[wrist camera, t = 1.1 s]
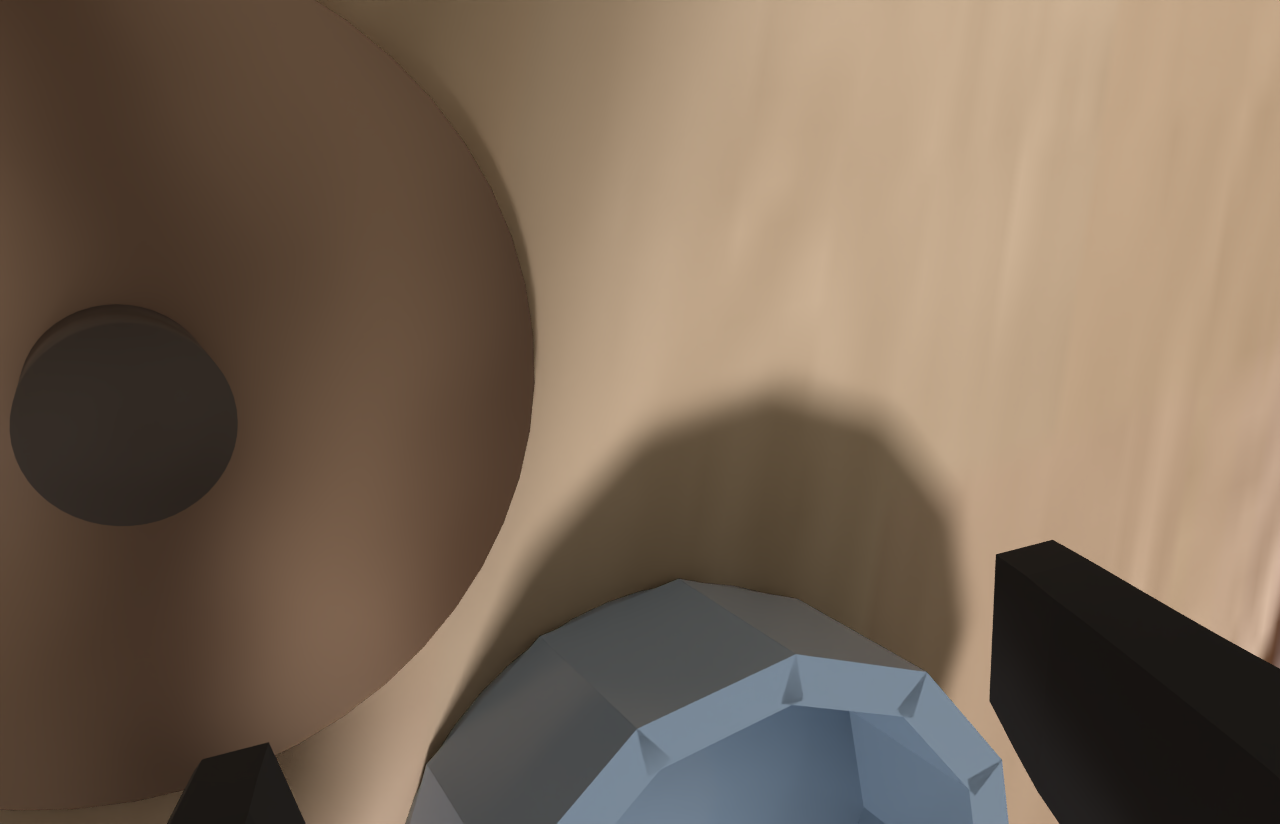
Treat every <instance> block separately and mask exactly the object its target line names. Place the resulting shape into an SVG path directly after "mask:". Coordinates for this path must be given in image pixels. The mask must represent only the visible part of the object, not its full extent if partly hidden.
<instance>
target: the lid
mask: <svg viewBox="0 0 1280 824" xmlns="http://www.w3.org/2000/svg"><path fill="white" fill-rule="evenodd" d="M533 392H534V352H533V331H532V324H531V318H530V311H529V305H528V298H527V292H526V286H525V282H524V278H523V275H522V271H521V268H520V264H519V261H518V257H517V254H516V250H515V247H514V243H513V240H512V236H511V234H510V232H509V229H508V227H507V225H506V222H505V220H504V217H503V215H502V213H501V210H500V208H499V206H498V203H497V201H496V199H495V196H494V194H493V192H492V189H491V187H490V186H489V184H488V182H487V180H486V179H485V177H484V175H483V174H482V172H481V170H480V168H479V167H478V165H477V163H476V161H475V160H474V158H473V156H472V154H471V153H470V151H469V149H468V148H467V146H466V144H465V142H464V141H463V140H462V138H461V137H460V136H459V135H458V133H457V132H456V131H455V129H454V128H453V127H452V125H451V124H450V123H449V121H448V120H447V119H446V117H445V116H444V115H443V113H442V112H441V111H440V109H439V108H438V107H437V105H436V104H435V103H434V101H433V100H432V99H431V98H430V97H429V96H428V95H427V93H426V92H425V91H424V90H423V89H422V88H421V87H420V86H419V85H418V84H417V83H416V82H415V81H414V80H413V79H412V78H411V77H410V76H409V75H408V74H407V73H406V72H405V71H404V70H403V69H402V67H401V66H400V65H399V64H398V63H397V62H396V61H395V60H394V59H393V58H392V57H391V56H389V55H388V54H387V53H386V52H385V51H383V50H382V49H381V48H380V47H378V46H377V45H376V44H375V43H374V42H372V41H371V40H370V39H369V38H367V37H366V36H365V35H364V34H363V33H361V32H360V31H359V30H358V29H356V28H355V27H354V26H353V25H352V24H350V23H349V22H348V21H347V20H345V19H344V18H342V17H341V16H339V15H337V14H336V13H334V12H333V11H331V10H330V9H328V8H326V7H325V6H323V5H322V4H320V3H319V2H317V1H315V0H0V809H3V810H52V809H79V808H87V807H95V806H103V805H110V804H118V803H126V802H134V801H139V800H143V799H147V798H151V797H156V796H160V795H164V794H168V793H173V792H177V791H181V790H184V789H185V787H186V785H187V783H188V781H189V780H190V778H191V776H192V774H193V772H194V770H195V769H196V767H197V766H198V764H199V763H200V762H201V760H202V759H205V758H209V757H213V756H217V755H221V754H225V753H229V752H232V751H236V750H240V749H244V748H248V747H252V746H256V745H260V744H263V743H267V742H269V744H270V746H271V748H272V750H273V753H274V755H277V754H279V753H281V752H283V751H285V750H287V749H289V748H292V747H294V746H296V745H298V744H299V743H301V742H303V741H304V740H306V739H308V738H309V737H311V736H312V735H314V734H316V733H317V732H319V731H321V730H322V729H324V728H325V727H327V726H329V725H330V724H332V723H334V722H335V721H337V720H338V719H340V718H342V717H343V716H345V715H346V714H347V713H349V712H350V711H351V710H353V709H354V708H355V707H356V706H358V705H359V704H360V703H362V702H363V701H364V700H365V699H367V698H368V697H369V696H371V695H372V694H373V693H374V692H376V691H377V690H378V689H380V688H381V687H382V686H383V685H385V684H386V683H387V682H388V681H389V680H390V679H391V678H392V677H393V676H394V675H395V674H396V673H397V672H398V671H399V670H400V669H402V668H403V667H404V666H405V665H406V664H407V663H408V662H409V661H410V660H411V659H412V658H413V657H414V656H415V655H416V654H417V653H418V652H419V651H420V650H421V649H422V648H423V647H424V646H425V645H426V643H427V642H428V641H429V640H430V639H431V637H432V636H433V635H434V634H435V632H436V631H437V630H438V629H439V628H440V626H441V625H442V624H443V623H444V621H445V620H446V619H447V618H448V617H449V615H450V614H451V613H452V612H453V611H454V609H455V608H456V606H457V605H458V603H459V602H460V600H461V599H462V597H463V596H464V594H465V593H466V591H467V589H468V588H469V586H470V585H471V583H472V582H473V580H474V579H475V577H476V575H477V574H478V572H479V571H480V569H481V568H482V566H483V564H484V562H485V560H486V558H487V556H488V554H489V552H490V550H491V548H492V546H493V544H494V542H495V539H496V537H497V535H498V533H499V531H500V529H501V527H502V525H503V523H504V520H505V518H506V515H507V512H508V509H509V506H510V503H511V500H512V498H513V495H514V492H515V489H516V486H517V483H518V480H519V478H520V473H521V469H522V464H523V459H524V455H525V450H526V446H527V441H528V437H529V432H530V424H531V413H532V403H533Z"/></svg>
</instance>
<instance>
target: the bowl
mask: <svg viewBox="0 0 1280 824" xmlns="http://www.w3.org/2000/svg"><path fill="white" fill-rule="evenodd" d="M405 824H1009V823H1008V814H1007V804H1006V795H1005V785H1004V775H1003V766H1002V759H1001V758H1000V757H999V756H998V755H997V754H996V753H995V751H994V750H993V749H992V748H991V747H990V746H989V744H988V743H987V742H986V741H985V740H984V738H983V737H982V736H981V735H980V734H979V733H978V731H977V730H976V729H975V728H974V727H973V726H972V724H971V723H970V722H969V721H968V720H967V719H966V717H965V716H964V715H963V714H962V713H961V712H960V710H959V709H958V708H957V707H956V706H955V705H954V703H953V702H952V701H951V700H950V699H949V698H948V696H947V695H946V694H945V693H944V692H943V690H942V689H941V688H940V687H939V686H938V685H937V683H936V682H935V681H934V680H933V679H932V678H931V676H930V675H929V674H928V673H927V672H926V671H924V670H922V669H921V668H919V667H917V666H915V665H914V664H912V663H910V662H908V661H907V660H905V659H903V658H901V657H899V656H898V655H896V654H894V653H892V652H891V651H889V650H887V649H885V648H884V647H882V646H880V645H878V644H876V643H875V642H873V641H871V640H869V639H868V638H866V637H864V636H862V635H861V634H859V633H857V632H855V631H853V630H852V629H850V628H848V627H846V626H845V625H843V624H841V623H839V622H838V621H836V620H834V619H832V618H830V617H829V616H827V615H825V614H823V613H822V612H820V611H818V610H816V609H815V608H813V607H811V606H809V605H807V604H806V603H804V602H802V601H800V600H799V599H796V598H790V597H784V596H778V595H772V594H766V593H761V592H757V591H753V590H749V589H745V588H741V587H737V586H731V585H721V584H710V583H701V582H695V581H689V580H683V579H677V580H674V581H672V582H669V583H667V584H665V585H662V586H660V587H657V588H654V589H649V590H644V591H640V592H637V593H634V594H631V595H628V596H625V597H622V598H619V599H616V600H613V601H610V602H607V603H605V604H603V605H601V606H599V607H597V608H594V609H592V610H590V611H588V612H586V613H584V614H582V615H580V616H578V617H576V618H574V619H572V620H570V621H569V622H567V623H566V624H564V625H562V626H561V627H559V628H558V629H556V630H554V631H551V632H549V633H546V634H544V635H542V636H540V637H539V638H538V639H537V640H536V641H535V642H534V643H533V645H532V646H531V647H530V648H529V649H528V650H527V651H525V652H524V653H523V654H522V655H521V656H519V657H518V658H517V659H516V660H514V661H513V662H512V663H511V664H509V665H508V666H507V667H506V668H505V669H504V670H503V671H502V672H501V673H500V674H499V675H498V676H497V677H496V678H495V679H494V680H493V681H492V682H491V683H490V684H489V685H488V686H487V687H486V688H485V689H484V690H483V691H482V692H481V693H480V694H479V696H478V697H477V698H476V699H475V701H474V702H473V703H472V704H471V706H470V707H469V708H468V709H467V711H466V712H465V713H464V714H463V716H462V717H461V718H460V719H459V721H458V722H457V723H456V724H455V726H454V727H453V729H452V730H451V732H450V733H449V735H448V737H447V738H446V740H445V741H444V743H443V745H442V746H441V748H440V749H439V750H438V752H437V753H436V754H435V755H434V756H433V757H432V758H431V759H430V761H429V762H428V763H427V764H426V768H425V771H424V775H423V779H422V782H421V785H420V787H419V789H418V791H417V793H416V795H415V797H414V800H413V803H412V805H411V808H410V811H409V814H408V817H407V820H406V823H405Z"/></svg>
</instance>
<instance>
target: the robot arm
mask: <svg viewBox="0 0 1280 824" xmlns="http://www.w3.org/2000/svg"><path fill="white" fill-rule="evenodd" d="M989 701H990V703H991V705H992V706H993V708H994V710H995V712H996V714H997V716H998V718H999V720H1000V722H1001V724H1002V726H1003V728H1004V730H1005V732H1006V734H1007V736H1008V738H1009V740H1010V741H1011V743H1012V745H1013V747H1014V749H1015V751H1016V753H1017V755H1018V757H1019V758H1020V760H1021V762H1022V764H1023V766H1024V768H1025V769H1026V771H1027V773H1028V775H1029V777H1030V778H1031V780H1032V782H1033V784H1034V786H1035V788H1036V789H1037V791H1038V793H1039V794H1040V796H1041V797H1042V799H1043V800H1044V802H1045V803H1046V805H1047V806H1048V808H1049V809H1050V810H1051V812H1052V813H1053V815H1054V816H1055V818H1056V819H1057V821H1058V822H1059V824H1280V669H1279V668H1277V667H1275V666H1274V665H1272V664H1270V663H1268V662H1266V661H1264V660H1263V659H1261V658H1259V657H1257V656H1255V655H1253V654H1251V653H1250V652H1248V651H1246V650H1244V649H1242V648H1241V647H1239V646H1237V645H1235V644H1233V643H1232V642H1230V641H1228V640H1226V639H1224V638H1223V637H1221V636H1219V635H1217V634H1216V633H1214V632H1212V631H1210V630H1209V629H1207V628H1205V627H1203V626H1201V625H1200V624H1198V623H1196V622H1194V621H1193V620H1191V619H1189V618H1187V617H1186V616H1184V615H1182V614H1180V613H1179V612H1177V611H1175V610H1174V609H1172V608H1170V607H1168V606H1167V605H1165V604H1163V603H1162V602H1160V601H1158V600H1156V599H1155V598H1153V597H1151V596H1149V595H1148V594H1146V593H1144V592H1143V591H1141V590H1139V589H1137V588H1136V587H1134V586H1132V585H1131V584H1129V583H1127V582H1125V581H1124V580H1122V579H1120V578H1119V577H1117V576H1115V575H1114V574H1112V573H1110V572H1108V571H1107V570H1105V569H1103V568H1102V567H1100V566H1098V565H1096V564H1095V563H1093V562H1091V561H1089V560H1088V559H1086V558H1084V557H1082V556H1081V555H1079V554H1077V553H1075V552H1074V551H1072V550H1070V549H1068V548H1066V547H1065V546H1063V545H1061V544H1059V543H1057V542H1056V541H1054V540H1050V541H1046V542H1043V543H1039V544H1035V545H1031V546H1027V547H1023V548H1019V549H1015V550H1012V551H1008V552H1004V553H1000V554H996V565H995V588H994V610H993V633H992V655H991V678H990V700H989ZM167 824H305V821H304V819H303V817H302V815H301V812H300V810H299V808H298V806H297V804H296V801H295V799H294V797H293V795H292V792H291V790H290V788H289V786H288V784H287V781H286V779H285V777H284V775H283V773H282V770H281V768H280V766H279V764H278V761H277V759H276V757H275V755H274V753H273V750H272V748H271V746H270V744H269V742H267V743H263V744H260V745H256V746H252V747H248V748H244V749H240V750H236V751H232V752H229V753H225V754H221V755H217V756H213V757H209V758H205V759H202V760H201V762H200V763H199V764H198V766H197V767H196V769H195V770H194V772H193V774H192V776H191V778H190V780H189V781H188V783H187V785H186V787H185V789H184V791H183V793H182V795H181V797H180V799H179V801H178V803H177V805H176V807H175V809H174V811H173V813H172V815H171V817H170V819H169V821H168V823H167Z"/></svg>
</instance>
